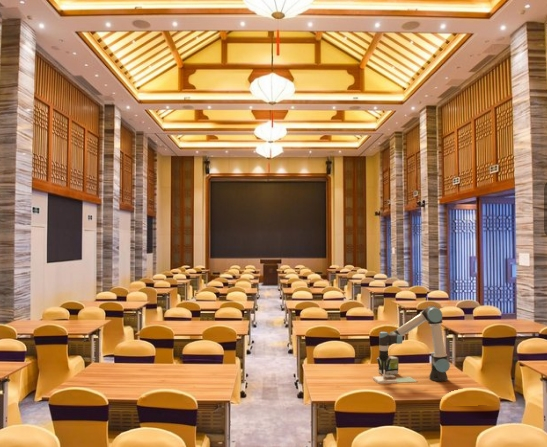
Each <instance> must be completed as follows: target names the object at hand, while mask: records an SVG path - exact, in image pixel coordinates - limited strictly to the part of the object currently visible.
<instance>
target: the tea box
mask: <svg viewBox="0 0 547 447" xmlns="http://www.w3.org/2000/svg"><path fill="white" fill-rule="evenodd" d="M388 356H389V358H391V360H390V364H389V368H388V369H387V370H386V374H385V375H399V357H397V356H394V355H388ZM379 361H380V364H381V360H379ZM387 361H388V359H387ZM386 366H387V362H386ZM378 374H381V375H382V373H381V370H380V369H379V368H378Z"/></svg>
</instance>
